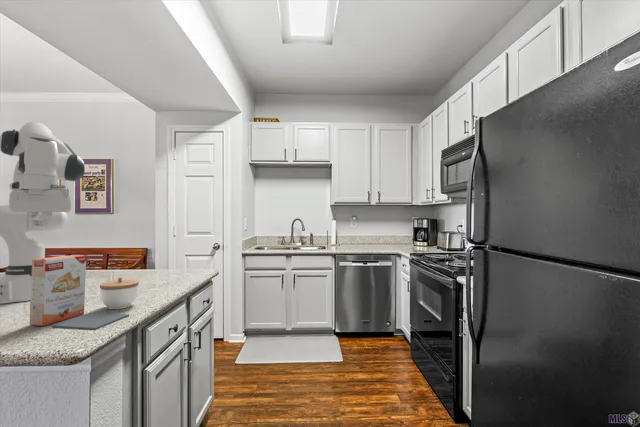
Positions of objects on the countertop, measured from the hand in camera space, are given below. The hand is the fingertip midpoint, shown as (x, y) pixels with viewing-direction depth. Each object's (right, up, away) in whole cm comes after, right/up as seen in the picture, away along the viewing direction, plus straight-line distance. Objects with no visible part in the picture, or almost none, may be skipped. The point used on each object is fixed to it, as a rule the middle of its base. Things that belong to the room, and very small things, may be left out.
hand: (40, 225), depth 107 cm
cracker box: (+8, -31, -2) cm, 32 cm away
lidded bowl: (+18, -32, +14) cm, 39 cm away
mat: (+20, -31, -3) cm, 37 cm away
